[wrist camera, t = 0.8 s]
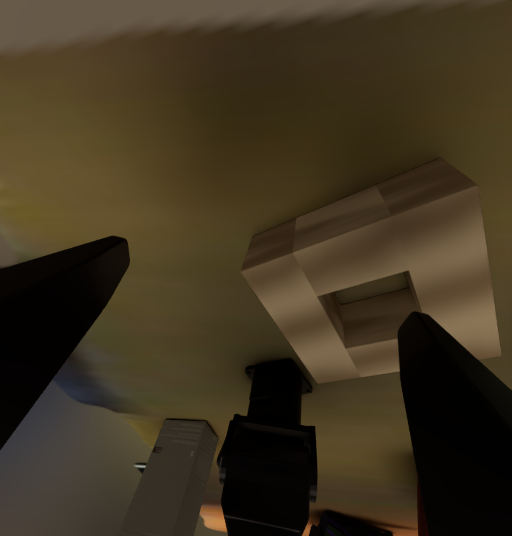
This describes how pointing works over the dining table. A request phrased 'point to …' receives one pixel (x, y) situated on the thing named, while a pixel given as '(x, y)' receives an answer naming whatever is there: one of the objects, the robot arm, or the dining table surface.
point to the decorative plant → (342, 528)
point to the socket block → (379, 272)
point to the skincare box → (172, 481)
